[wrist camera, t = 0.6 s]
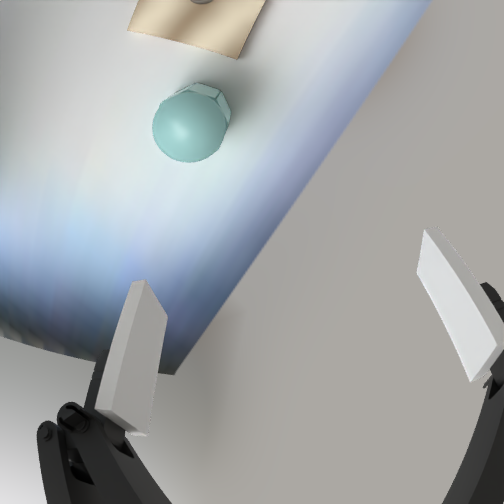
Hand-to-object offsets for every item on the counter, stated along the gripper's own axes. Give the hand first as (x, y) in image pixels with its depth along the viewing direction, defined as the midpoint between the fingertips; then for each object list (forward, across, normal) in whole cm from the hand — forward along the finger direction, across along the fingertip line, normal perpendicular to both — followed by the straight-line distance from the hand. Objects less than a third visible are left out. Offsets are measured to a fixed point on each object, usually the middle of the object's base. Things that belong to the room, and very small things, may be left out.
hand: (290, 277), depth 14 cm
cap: (+20, -6, +4) cm, 21 cm away
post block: (+20, -2, +16) cm, 26 cm away
